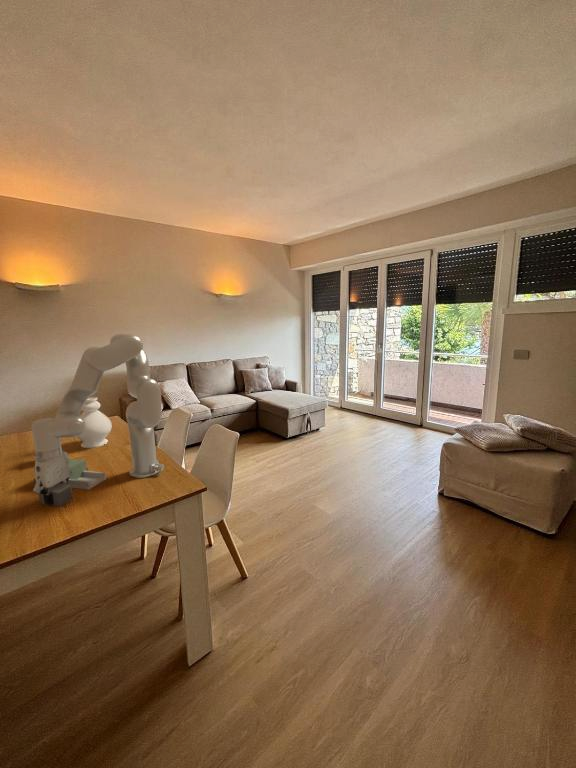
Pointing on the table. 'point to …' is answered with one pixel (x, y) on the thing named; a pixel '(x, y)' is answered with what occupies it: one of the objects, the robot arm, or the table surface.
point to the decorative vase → (94, 425)
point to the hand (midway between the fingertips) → (56, 499)
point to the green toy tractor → (82, 475)
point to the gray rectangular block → (59, 494)
